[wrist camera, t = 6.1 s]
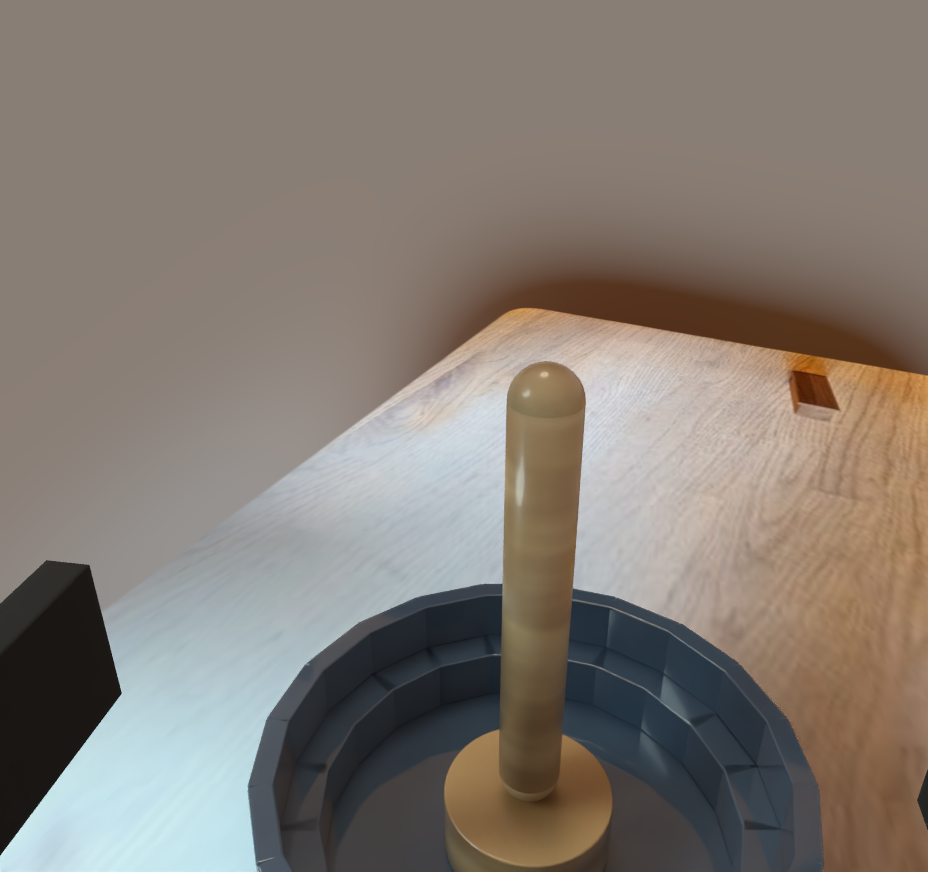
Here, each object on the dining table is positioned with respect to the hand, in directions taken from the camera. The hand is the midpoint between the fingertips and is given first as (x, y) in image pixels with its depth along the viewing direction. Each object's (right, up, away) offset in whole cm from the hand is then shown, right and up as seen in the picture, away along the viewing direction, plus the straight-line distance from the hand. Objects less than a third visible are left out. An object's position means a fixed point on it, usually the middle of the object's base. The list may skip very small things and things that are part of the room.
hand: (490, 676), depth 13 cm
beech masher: (+2, -10, +16) cm, 19 cm away
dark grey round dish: (+2, -11, +16) cm, 20 cm away
